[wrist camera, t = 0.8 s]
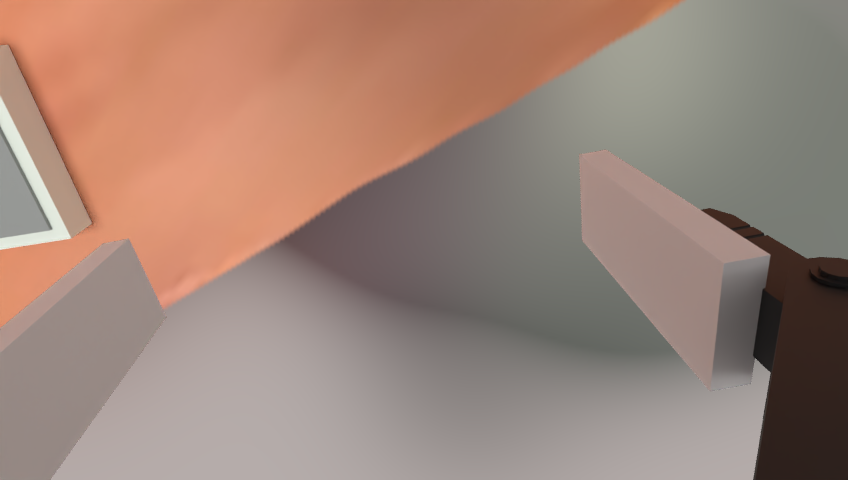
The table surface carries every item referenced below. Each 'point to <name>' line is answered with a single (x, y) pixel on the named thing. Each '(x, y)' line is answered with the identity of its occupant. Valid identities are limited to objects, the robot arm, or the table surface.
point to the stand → (31, 170)
